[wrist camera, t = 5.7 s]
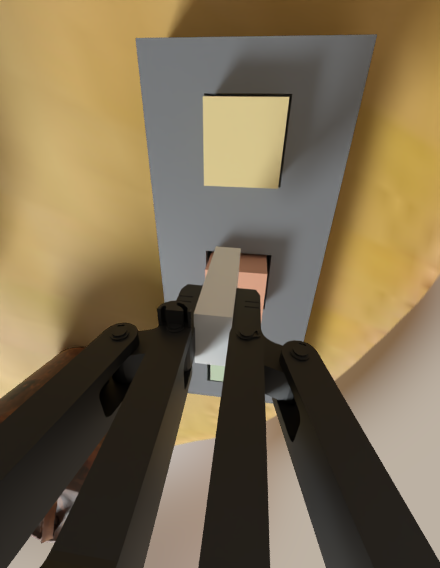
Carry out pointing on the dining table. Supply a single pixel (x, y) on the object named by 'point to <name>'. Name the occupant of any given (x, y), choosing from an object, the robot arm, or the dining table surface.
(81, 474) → the brown tapered container
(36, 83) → the dining table surface
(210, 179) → the ochre button
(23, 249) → the dining table surface
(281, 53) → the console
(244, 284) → the terracotta button
